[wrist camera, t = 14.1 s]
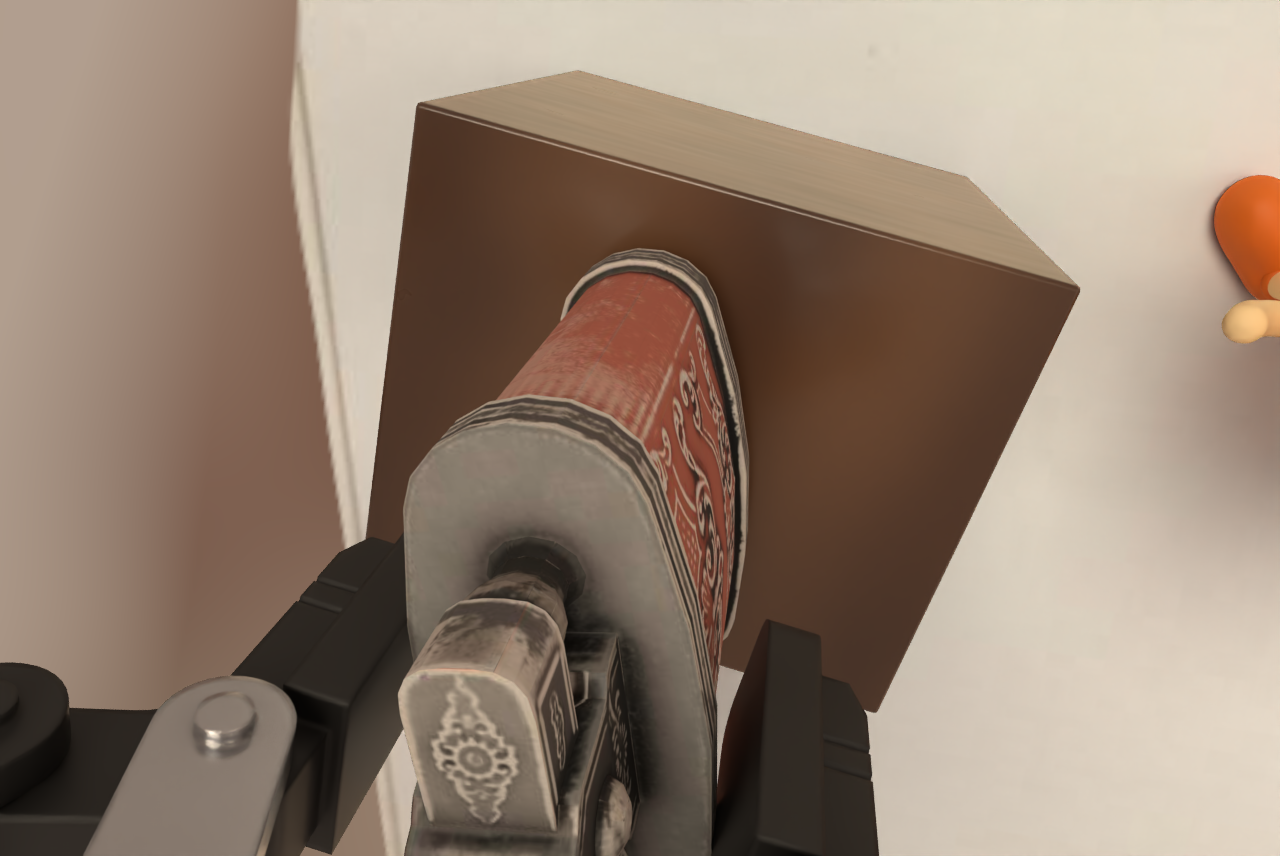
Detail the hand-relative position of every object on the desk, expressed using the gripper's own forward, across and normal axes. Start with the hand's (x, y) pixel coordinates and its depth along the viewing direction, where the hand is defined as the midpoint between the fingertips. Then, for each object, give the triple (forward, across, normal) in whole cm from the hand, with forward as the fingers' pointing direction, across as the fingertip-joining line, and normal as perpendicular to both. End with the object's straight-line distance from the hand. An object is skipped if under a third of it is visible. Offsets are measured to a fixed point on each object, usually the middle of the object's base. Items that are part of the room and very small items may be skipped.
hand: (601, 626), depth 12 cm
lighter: (+5, 0, 0) cm, 5 cm away
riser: (+18, 0, 0) cm, 18 cm away
